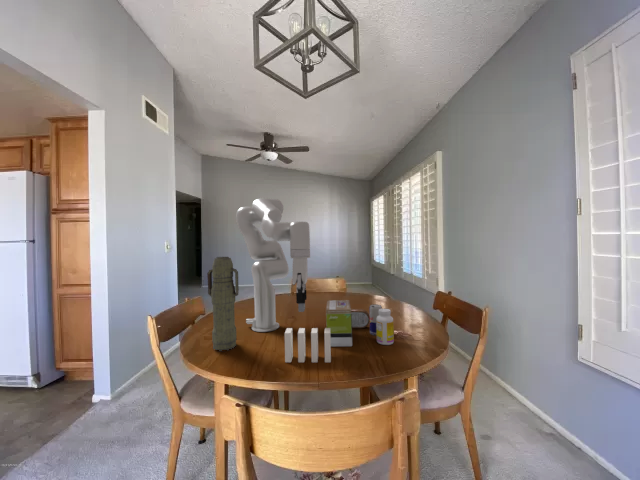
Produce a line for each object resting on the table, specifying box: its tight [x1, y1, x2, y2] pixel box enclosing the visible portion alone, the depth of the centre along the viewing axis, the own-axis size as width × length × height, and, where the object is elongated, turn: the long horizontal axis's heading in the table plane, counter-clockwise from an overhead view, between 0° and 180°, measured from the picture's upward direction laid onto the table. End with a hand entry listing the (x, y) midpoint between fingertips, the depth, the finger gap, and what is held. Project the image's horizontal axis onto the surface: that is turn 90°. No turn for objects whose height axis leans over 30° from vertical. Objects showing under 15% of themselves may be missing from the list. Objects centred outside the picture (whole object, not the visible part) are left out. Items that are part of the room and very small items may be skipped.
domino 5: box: [323, 327, 332, 363], centre depth 98 cm, size 2×5×10 cm, turn 178°
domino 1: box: [284, 327, 294, 363], centre depth 98 cm, size 2×5×10 cm, turn 178°
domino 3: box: [297, 327, 306, 363], centre depth 98 cm, size 2×5×10 cm, turn 178°
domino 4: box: [310, 327, 319, 363], centre depth 98 cm, size 2×5×10 cm, turn 178°
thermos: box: [206, 256, 240, 352], centre depth 110 cm, size 9×12×35 cm
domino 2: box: [297, 283, 306, 313], centre depth 108 cm, size 2×5×10 cm, turn 177°
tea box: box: [325, 299, 353, 348], centre depth 116 cm, size 15×10×15 cm, turn 177°
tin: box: [351, 308, 370, 329], centre depth 130 cm, size 15×3×8 cm, turn 84°
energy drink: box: [368, 303, 383, 336], centre depth 122 cm, size 5×5×12 cm
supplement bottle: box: [376, 308, 395, 346], centre depth 112 cm, size 7×7×13 cm
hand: (301, 301), depth 108 cm, fingers closed on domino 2, 4 cm apart
